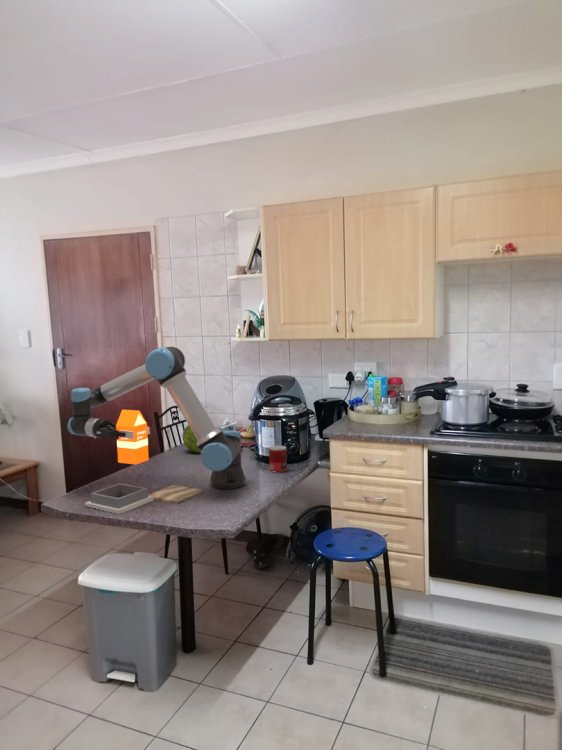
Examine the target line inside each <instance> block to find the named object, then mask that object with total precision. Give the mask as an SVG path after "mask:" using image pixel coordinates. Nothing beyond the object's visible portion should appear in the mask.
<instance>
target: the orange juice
mask: <svg viewBox="0 0 562 750" xmlns="http://www.w3.org/2000/svg"><path fill="white" fill-rule="evenodd" d="M116 424H117V425H116V430H118V431H119V430H126V431H133V435H134V438H133V439H130V438H121V437H120V436H119V439H116V446H117V447H116V449H117V462H118V463H120V464H128V465H129V464H130V465H138V464H141V463H144V462H147V461H149V459H150V458H149V437H148V434H147V427H148V422H147V421H146V419H145V418H144V417H143V414H142V413H141V411H140V410H133V409H122V410H121V411H120V415H119V417H118V420H117V422H116Z"/></svg>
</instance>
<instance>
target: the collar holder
mask: <svg viewBox="0 0 562 750" xmlns="http://www.w3.org/2000/svg"><path fill="white" fill-rule="evenodd" d="M148 494H149V488H147V487H142V486H138V485H131V484H128V483H121V482H120V483H117V484H114V485H111V486H108V487H105V488H102V489H99V490H96V491H94V492H91V493H90V495H89V496H90V500H89V501H86V502H84V507H85V506H88V507H92V508H91V509H93V508H96V509H95V510H97V509H100V510H99V511H102V510H104V511H103V512H106V511H108V512H107V513H110V512H112V513H111V514H115V515H121V514H123V513H126V512H128V511H132V510H133V509H135V508H140V507H141V506H143V505H145V504H149V503H152V502H154V501H155V499H154V497H153V496H148ZM153 500H154V501H153ZM88 507H87V508H88Z"/></svg>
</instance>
